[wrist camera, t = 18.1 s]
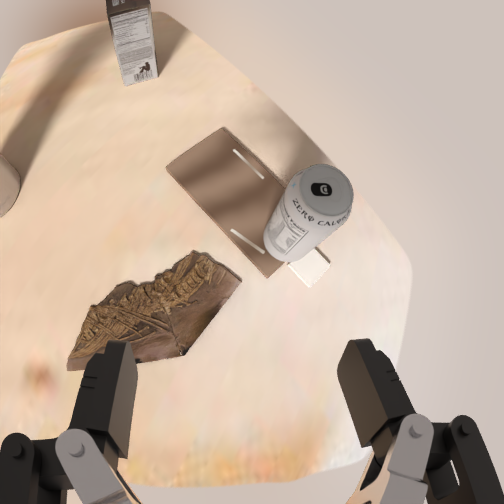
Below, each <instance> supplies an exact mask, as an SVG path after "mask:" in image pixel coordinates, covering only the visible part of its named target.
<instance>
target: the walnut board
mask: <svg viewBox="0 0 504 504" xmlns="http://www.w3.org/2000/svg"><path fill="white" fill-rule="evenodd" d="M166 170H167V171H168V173H169V174H170V175H171V176H172V177H173V178H174V179H175V180H176V181H177V182H178V183H179V184H180V186H181V187H182V188H183V189H184V190H185V191H186V192H187V193H188V194H189V195H190V196H191V197H192V199H193V200H194V201H195V202H196V203H197V204H198V205H199V206H200V207H201V208H202V209H203V210H204V212H205V213H206V214H207V215H208V216H209V217H210V218H211V219H212V220H213V221H214V222H215V223H216V224H217V226H218V227H219V228H220V229H221V230H222V231H223V232H224V233H225V234H226V235H227V236H228V237H229V238H230V239H231V241H232V242H233V243H234V244H235V245H236V246H237V247H238V248H239V249H240V250H241V251H242V252H243V253H244V254H245V256H246V257H247V258H248V259H249V260H250V261H251V262H252V263H253V264H254V265H255V266H256V267H257V268H258V269H259V271H260V272H261V273H262V274H263V275H264V276H265V277H266V278H268V277H270V276H271V275H272V274H273V273H274V272H275V271H276V270H277V269H278V268H279V267H280V266H281V265H282V264H283V263H284V262H283V261H280V260H278V259H276V258H274V257H273V256H272V255H271V254H270V253H269V252H268V250H267V249H266V247H265V244H264V240H263V235H264V230H265V228H266V226H267V224H268V222H269V220H270V218H271V216H272V214H273V212H274V210H275V209H276V207H277V205H278V203H279V201H280V199H281V197H282V195H283V193H284V192H285V190H286V189H285V188H284V187H283V186H282V185H281V184H280V183H279V182H278V181H277V180H276V179H275V178H274V177H273V176H272V175H271V174H270V173H269V172H268V171H267V170H266V169H265V168H263V167H262V166H261V165H260V164H259V163H258V162H257V161H256V160H255V159H254V158H253V157H252V156H251V155H250V154H249V153H248V152H247V151H246V150H245V149H244V148H242V147H241V146H240V145H239V144H238V143H237V142H236V141H235V140H234V139H233V138H232V137H231V136H229V135H228V134H227V133H226V132H225V131H224V130H223V129H222V128H221V129H219V130H218V131H216V132H215V133H213V134H212V135H210V136H209V137H207V138H206V139H204V140H203V141H201V142H200V143H198V144H197V145H196V146H194V147H193V148H191V149H190V150H188V151H187V152H185V153H184V154H183V155H181V156H180V157H178V158H177V159H176V160H174V161H173V162H171V163H170V164H169V165H167V166H166Z"/></svg>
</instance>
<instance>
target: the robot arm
mask: <svg viewBox="0 0 504 504" xmlns="http://www.w3.org/2000/svg"><path fill="white" fill-rule="evenodd" d="M19 189H20V176H19V174H18V172H17V171H16V170H15V169H14V168H13V166H12V165H11V164H10V163H9V162H8V161H7V160H6V159H5V158H4V157H3V156H2V155H1V154H0V217H1V216H3V215H4V214H5V213H7V212H8V210H9V209H10V208H11V207H12V205H13V204H14V202H15V200H16V198H17V196H18V192H19ZM337 375H338V380H339V383H340V385H341V388H342V391H343V394H344V397H345V400H346V403H347V406H348V408H349V411H350V414H351V417H352V420H353V423H354V426H355V429H356V432H357V435H358V438H359V441H360V444H361V447H362V448H363V447H368V446H372V448H373V452H372V453H371V455H370V458H369V460H368V463H367V465H366V467H365V470H364V472H363V474H362V477H361V479H360V481H359V484H358V486H357V488H356V490H355V492H354V493H353V495H352V496H351V497H350V498H349V500H348V501H347V502H346V504H423V503H424V500H425V497H426V499H427V503H428V504H504V494H503V491H502V488H501V485H500V482H499V479H498V477H497V474H496V471H495V468H494V466H493V463H492V461H491V458H490V456H489V453H488V451H487V448H486V446H485V443H484V441H483V439H482V436H481V434H480V432H479V429H478V427H477V425H476V423H475V422H474V420H473V419H472V418H470V417H468V416H466V415H460V416H457V417H456V418H454V419H453V420H452V422H450V423H432V422H430V420H429V419H428V418H426V417H425V416H423V415H421V414H417V413H416V412H415V410H414V408H413V406H412V404H411V402H410V399H409V397H408V395H407V393H406V391H405V389H404V387H403V385H402V383H401V381H399V377H398V375H397V373H396V372H395V369H394V367H393V365H392V363H391V361H390V359H389V358H388V357H387V356H386V355H385V354H384V353H383V352H382V351H381V350H379V351H376V349H375V347H374V345H373V343H372V341H371V340H370V339H368V338H366V339H356V340H350V341H349V342H348V344H347V346H346V348H345V351H344V353H343V355H342V357H341V360H340V362H339V364H338V368H337ZM137 380H138V372H137V365H136V362H135V358H134V355H133V351H132V348H131V344H130V342H129V341H121V340H108V342H107V345H106V348H105V351H104V354H102V353H95V354H94V355H93V356H92V358H91V359H90V360H89V361H88V362H87V364H86V368H85V371H84V374H83V378H82V381H81V385H80V386H81V387H80V388H79V392H78V395H77V399H76V403H75V407H74V411H73V415H72V419H71V422H70V425H69V427H68V429H67V430H66V431H64V432H63V433H62V434H61V435H60V436H59V437H57V438H54V439H45V440H30V439H29V438H28V437H27V436H26V435H24V434H21V433H12V434H10V435H8V436H7V437H6V438H5V439H4V440H3V442H2V445H1V450H0V504H66V501H67V490H69V489H75V491H76V492H77V494H78V496H79V498H80V499H81V501H82V503H83V504H142V503H141V501H140V500H139V498H138V497H137V496H136V494H135V493H134V492H133V490H132V489H131V488H130V486H129V485H128V483H127V482H126V480H125V479H124V478H123V476H122V475H121V473H120V472H119V470H118V469H117V467H118V457H119V458H125V459H127V457H128V447H129V438H130V430H131V422H132V415H133V407H134V400H135V394H136V387H137ZM451 460H452V461H453V464H454V467H455V470H456V473H457V476H458V479H459V485H458V483H457V480H456V477H455V474H454V471H453V468H452V465H451V462H450V461H451Z"/></svg>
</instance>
